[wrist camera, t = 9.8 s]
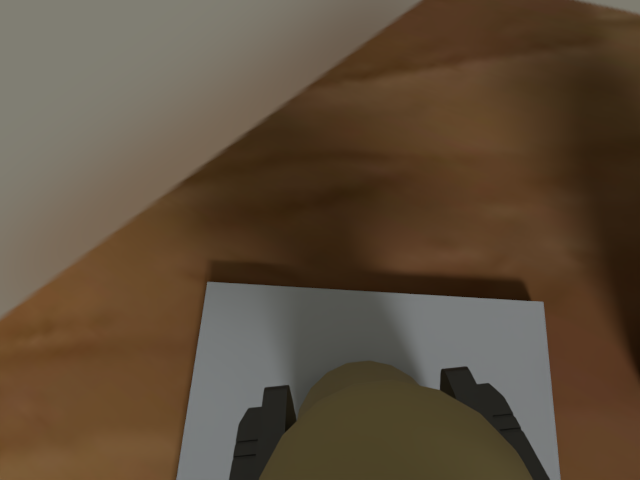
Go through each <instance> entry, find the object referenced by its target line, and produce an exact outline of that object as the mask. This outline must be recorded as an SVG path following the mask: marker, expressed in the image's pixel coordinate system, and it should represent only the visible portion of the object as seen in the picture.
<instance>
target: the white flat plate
mask: <svg viewBox="0 0 640 480" xmlns="http://www.w3.org/2000/svg"><path fill="white" fill-rule="evenodd" d="M360 361H374V362H379V363H383V364H388V365H392V366H394V367H395V368H397V369H399V370H401V371H402V372H404V373H406V374H407V375H409V376H411V377H412V378H413V379H414V380H415V381H416V382H417V383H418V384H419V385H420V386H424V387H429V388H433V389H438V390H440V373H441V369H444V368H454V367H463V366H467V367H468V368H469V370H470V371H471V373H472V375H473V377H474V379H475V381H476V383H477V384H483V383H490V384H491V385H492V386H493V387H494V388H495V389H496V390H497V391H498V392H500V393H501V394H502V395H503V396H504V397H505V399H506V401H507V403H508V405H509V406H510V408H511V410H512V412H513V415H514V417H516V419H517V421H518V423H519V424H520V426H521V430H522V431H523V432H524V434H525V435H526V437H527V439H528V441H529V443H530V444H531V446H532V448H533V450H534V452H535V453H536V455H537V457H538V459H539V461H540V462H541V464H542V466H543V468H544V470H545V471H546V473H547V475H548V477H549V479H550V480H560V469H559V459H558V449H557V438H556V428H555V418H554V407H553V397H552V387H551V376H550V366H549V356H548V345H547V335H546V325H545V314H544V304H543V302H536V301H520V300H503V299H486V298H470V297H453V296H436V295H420V294H403V293H386V292H370V291H353V290H336V289H320V288H303V287H286V286H270V285H253V284H236V283H220V282H207V288H206V295H205V301H204V307H203V314H202V320H201V326H200V333H199V339H198V345H197V352H196V358H195V365H194V371H193V377H192V384H191V390H190V396H189V403H188V409H187V415H186V422H185V428H184V434H183V441H182V447H181V453H180V460H179V466H178V473H177V479H176V480H229V476H230V471H231V465H232V460H233V454H234V448H235V445H236V436H237V431H238V425H239V423H240V421H241V419H242V418H243V416H244V414H245V413H246V411H247V409H248V408H252V407H262V400H263V392H264V388H265V387H273V386H282V385H289V386H290V390H291V395H292V400H293V404H294V409H295V414H296V419H297V418H298V413H299V409H300V407H301V405H302V403H303V402H304V400H305V398H306V396H307V394H308V392H309V390H310V389H311V388H312V387H313V386H314V385H315V384H316V383H317V382H318V381H319V380H320V379H321V378H322V377H323V376H324V375H325V374H326V373H327V372H329V371H331V370H333V369H336V368H338V367H340V366H342V365H344V364H346V363H351V362H360Z"/></svg>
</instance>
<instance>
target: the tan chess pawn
mask: <svg viewBox="0 0 640 480" xmlns="http://www.w3.org/2000/svg"><path fill="white" fill-rule="evenodd" d="M259 480H533V479H532V477H531V475H530V473H529V471H528V470H527V468H526V466H525V464H524V462H523V461H522V459H521V458H520V456H519V454H518V453H517V451H516V450H515V449H514V448H513V447H512V446H511V445H510V444H509V443H508V442H507V441H506V440H505V438H504V437H503V436H502V435H501V434H500V433H499V432H498V431H497V430H496V429H495V428H494V427H493V426H492V425H491V424H490V423H489V422H488V421H487V420H486V419H485V418H484V417H483V416H482V415H481V414H480V413H479V412H477V411H475V410H473V409H472V408H470V407H468V406H467V405H465V404H463V403H461V402H460V401H458V400H456V399H454V398H453V397H451V396H449V395H447V394H446V393H444V392H442V391H440V390H438V389H433V388H429V387H424V386H420V385H419V384H418V383H417V382H416V381H415V380H414V379H413V378H412V377H411V376H409V375H407V374H406V373H404V372H402V371H401V370H399V369H397V368H395V367H394V366H392V365H388V364H383V363H379V362H374V361H360V362H351V363H346V364H344V365H342V366H340V367H338V368H336V369H333V370H331V371H329V372H327V373H326V374H325V375H324V376H323V377H322V378H321V379H320V380H319V381H318V382H317V383H316V384H315V385H314V386H313V387H312V388H311V389H310V390H309V392H308V394H307V396H306V398H305V400H304V402H303V403H302V405H301V407H300V409H299V413H298V418H297V421H296V422H295V423H294V424H293V425H292V426H291V427H290V428H289V429H288V430H287V431H286V432H285V433H284V434H283V435H282V437H281V439H280V441H279V442H278V444H277V446H276V448H275V450H274V452H273V453H272V455H271V457H270V459H269V461H268V463H267V464H266V466H265V468H264V470H263V472H262V474H261V476H260V477H259Z"/></svg>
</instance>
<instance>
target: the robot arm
mask: <svg viewBox="0 0 640 480" xmlns="http://www.w3.org/2000/svg"><path fill="white" fill-rule="evenodd" d="M440 391H442V392H444V393H446V394H447V395H449V396H451V397H453V398H454V399H456V400H458V401H460V402H461V403H463V404H465V405H467V406H468V407H470V408H472V409H473V410H475V411H477V412H479V413H480V414H481V415H482V416H483V417H484V418H485V419H486V420H487V421H488V422H489V423H490V424H491V425H492V426H493V427H494V428H495V429H496V430H497V431H498V432H499V433H500V434H501V435H502V436H503V437H504V438H505V440H506V441H507V442H508V443H509V444H510V445H511V446H512V447H513V448H514V449H515V450H516V451H517V453H518V454H519V456H520V458H521V459H522V461H523V462H524V464H525V466H526V468H527V470H528V471H529V473H530V475H531V477H532V479H533V480H550V479H549V477H548V475H547V473H546V471H545V470H544V468H543V466H542V464H541V462H540V461H539V459H538V457H537V455H536V453H535V452H534V450H533V448H532V446H531V444H530V443H529V441H528V439H527V437H526V435H525V434H524V432H523V431H522V430H521V426H520V424H519V423H518V421H517V419H516V417H514V415H513V412H512V410H511V408H510V406H509V405H508V403H507V401H506V399H505V397H504V396H503V395H502V394H501V393H500V392H498V391H497V390H496V389H495V388H494V387H493V386H492V385H491V384H490V383H483V384H477V383H476V381H475V379H474V377H473V375H472V373H471V371H470V370H469V368H468V367H467V366H463V367H454V368H444V369H441V373H440ZM296 421H297V419H296V414H295V409H294V404H293V400H292V395H291V390H290V386H289V385H282V386H273V387H265V388H264V392H263V400H262V407H252V408H248V409H247V411H246V413H245V414H244V416H243V418H242V419H241V421H240V423H239V425H238V431H237V436H236V445H235V448H234V454H233V460H232V465H231V471H230V476H229V480H259V477H260V476H261V474H262V472H263V470H264V468H265V466H266V464H267V463H268V461H269V459H270V457H271V455H272V453H273V452H274V450H275V448H276V446H277V444H278V442H279V441H280V439H281V437H282V435H283V434H284V433H285V432H286V431H287V430H288V429H289V428H290V427H291V426H292V425H293V424H294V423H295V422H296Z"/></svg>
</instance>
